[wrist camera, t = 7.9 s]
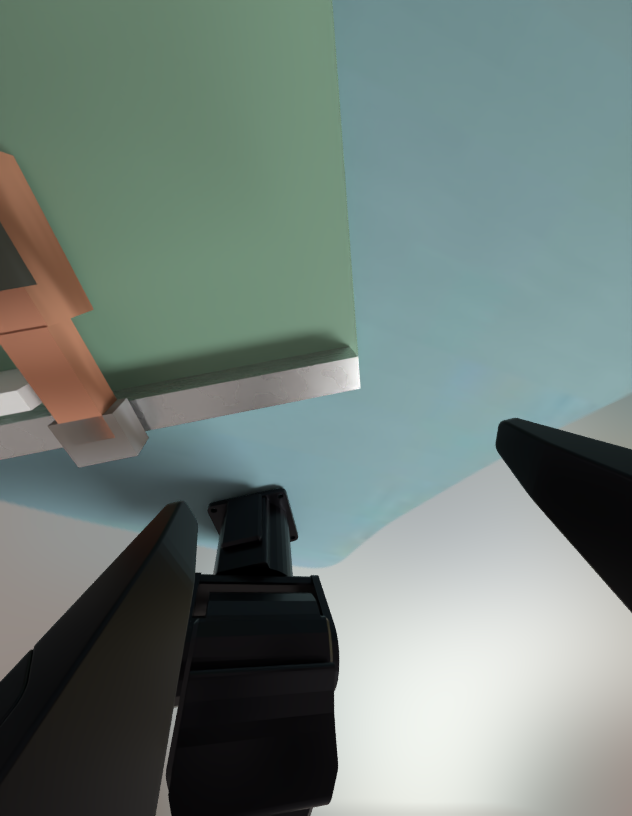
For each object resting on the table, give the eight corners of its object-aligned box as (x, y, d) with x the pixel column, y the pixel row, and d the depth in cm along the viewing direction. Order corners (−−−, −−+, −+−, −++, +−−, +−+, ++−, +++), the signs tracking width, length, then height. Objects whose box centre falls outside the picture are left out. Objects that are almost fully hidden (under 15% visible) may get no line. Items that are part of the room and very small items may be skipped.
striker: (160, 419, 18) (78, 551, 10) (111, 428, 18) (-9, 570, 10) (26, 153, 12) (-469, -33, 4) (-52, 165, 11) (-739, -5, 4)
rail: (351, 375, 19) (360, 388, 17) (19, 440, 18) (-8, 461, 16) (349, 345, 18) (358, 356, 16) (-4, 412, 17) (-35, 432, 15)
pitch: (355, 374, 20) (359, 380, 19) (28, 438, 19) (16, 448, 18) (321, -62, 11) (325, -88, 10) (-323, 11, 10) (-381, -13, 9)
